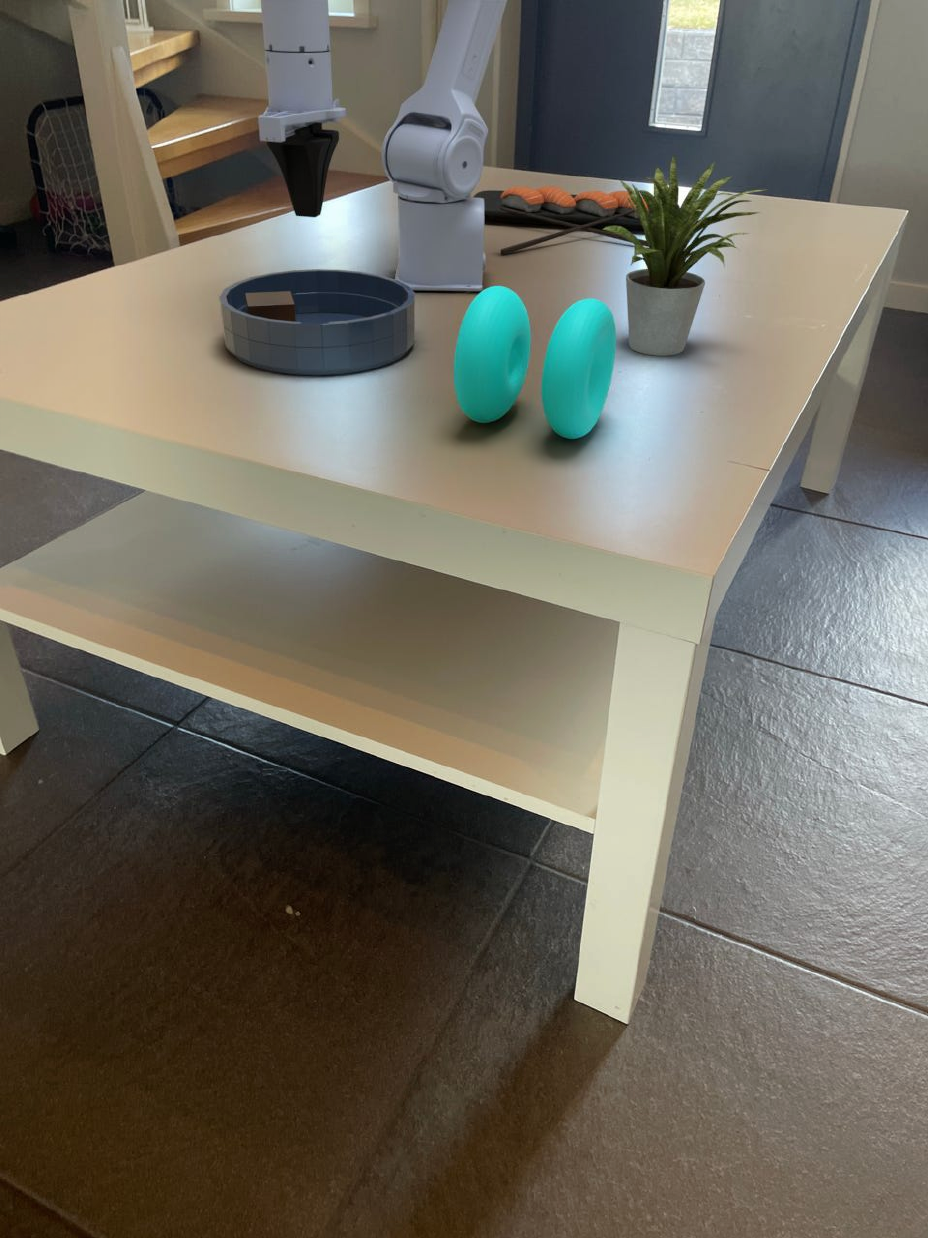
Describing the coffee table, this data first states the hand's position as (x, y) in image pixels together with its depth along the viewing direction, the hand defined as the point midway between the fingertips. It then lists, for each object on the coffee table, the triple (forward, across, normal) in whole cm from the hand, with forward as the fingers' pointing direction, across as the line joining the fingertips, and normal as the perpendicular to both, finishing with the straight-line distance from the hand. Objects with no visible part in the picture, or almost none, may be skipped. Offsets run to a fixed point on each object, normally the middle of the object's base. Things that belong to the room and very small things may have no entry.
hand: (308, 215), depth 93 cm
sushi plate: (+9, +44, -19) cm, 49 cm away
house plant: (+9, -1, -34) cm, 36 cm away
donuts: (+9, -22, -26) cm, 36 cm away
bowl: (+9, -9, -4) cm, 14 cm away
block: (+8, -12, -1) cm, 15 cm away
